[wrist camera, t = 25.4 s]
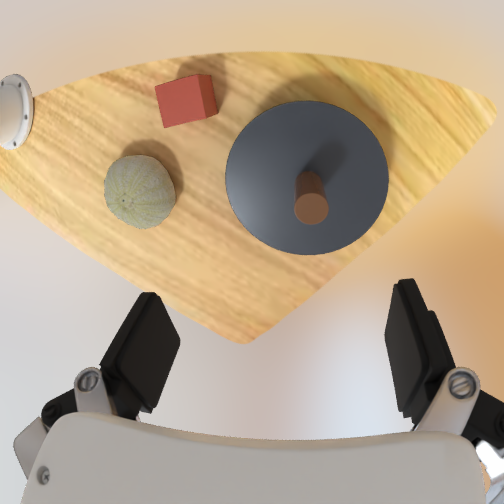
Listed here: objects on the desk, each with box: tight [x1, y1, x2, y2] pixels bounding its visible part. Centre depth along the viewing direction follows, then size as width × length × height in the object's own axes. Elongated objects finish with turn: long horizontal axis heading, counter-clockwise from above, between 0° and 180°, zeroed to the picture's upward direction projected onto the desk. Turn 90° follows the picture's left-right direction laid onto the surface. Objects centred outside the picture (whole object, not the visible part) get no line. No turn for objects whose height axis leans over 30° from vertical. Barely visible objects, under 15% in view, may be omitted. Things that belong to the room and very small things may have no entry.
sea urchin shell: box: [104, 155, 176, 229], centre depth 31 cm, size 9×8×8 cm
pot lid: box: [225, 101, 389, 255], centre depth 24 cm, size 15×15×7 cm
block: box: [155, 74, 218, 128], centre depth 25 cm, size 4×4×4 cm
